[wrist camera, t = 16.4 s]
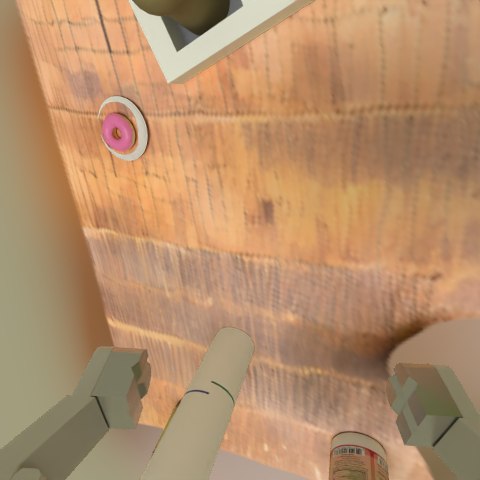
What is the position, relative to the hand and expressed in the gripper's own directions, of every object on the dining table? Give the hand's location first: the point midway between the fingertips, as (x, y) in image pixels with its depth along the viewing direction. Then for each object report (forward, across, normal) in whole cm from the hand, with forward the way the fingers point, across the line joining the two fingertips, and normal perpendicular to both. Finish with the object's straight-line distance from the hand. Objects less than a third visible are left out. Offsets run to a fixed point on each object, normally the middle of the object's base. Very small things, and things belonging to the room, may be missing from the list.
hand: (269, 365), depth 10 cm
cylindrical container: (+28, +2, +36) cm, 45 cm away
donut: (+36, +17, +2) cm, 40 cm away
